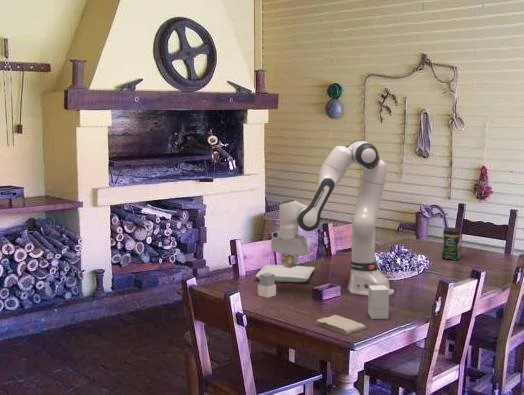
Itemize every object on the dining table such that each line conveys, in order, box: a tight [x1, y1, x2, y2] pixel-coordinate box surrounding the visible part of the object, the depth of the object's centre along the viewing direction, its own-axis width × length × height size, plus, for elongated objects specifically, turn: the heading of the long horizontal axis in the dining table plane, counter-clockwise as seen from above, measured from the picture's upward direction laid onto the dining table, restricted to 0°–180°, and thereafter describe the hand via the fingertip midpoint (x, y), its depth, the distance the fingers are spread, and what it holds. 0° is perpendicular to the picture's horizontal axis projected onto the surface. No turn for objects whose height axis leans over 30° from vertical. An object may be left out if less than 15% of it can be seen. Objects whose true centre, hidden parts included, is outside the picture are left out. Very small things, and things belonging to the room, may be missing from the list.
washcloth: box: [315, 314, 366, 336], centre depth 272 cm, size 12×18×3 cm, turn 40°
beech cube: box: [282, 254, 298, 268], centre depth 323 cm, size 4×4×5 cm
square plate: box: [255, 264, 316, 284], centre depth 354 cm, size 27×27×4 cm
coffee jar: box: [441, 226, 461, 260], centre depth 395 cm, size 10×8×19 cm
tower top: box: [259, 273, 276, 287], centre depth 318 cm, size 5×5×5 cm
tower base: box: [257, 284, 277, 298], centre depth 319 cm, size 6×6×5 cm
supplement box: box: [367, 285, 390, 320], centre depth 285 cm, size 7×7×13 cm
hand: (289, 262), depth 323 cm, fingers closed on beech cube, 4 cm apart
